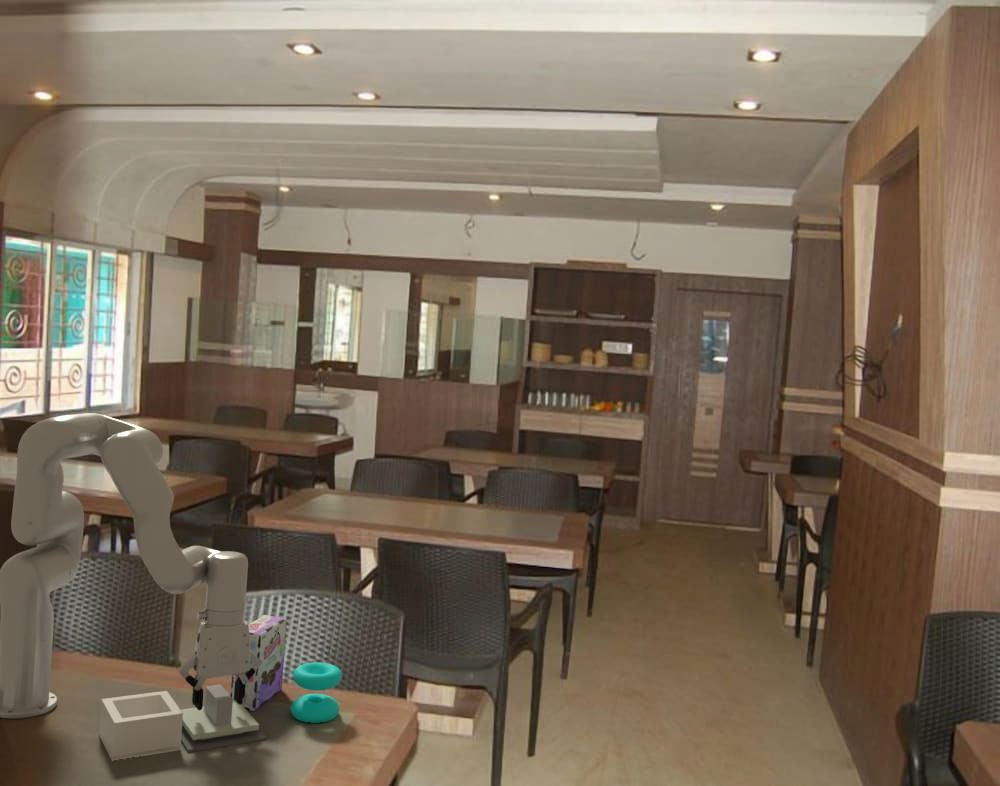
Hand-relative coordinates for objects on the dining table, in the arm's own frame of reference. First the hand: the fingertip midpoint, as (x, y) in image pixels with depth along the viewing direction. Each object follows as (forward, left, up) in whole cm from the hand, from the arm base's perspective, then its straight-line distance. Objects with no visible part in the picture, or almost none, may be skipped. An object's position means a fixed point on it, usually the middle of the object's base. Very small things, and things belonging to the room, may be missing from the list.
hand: (218, 704), depth 184 cm
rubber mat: (0, 0, -5) cm, 5 cm away
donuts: (+21, 0, -6) cm, 21 cm away
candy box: (+13, +13, -6) cm, 19 cm away
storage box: (-14, 0, -5) cm, 15 cm away
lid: (0, 0, -5) cm, 5 cm away
